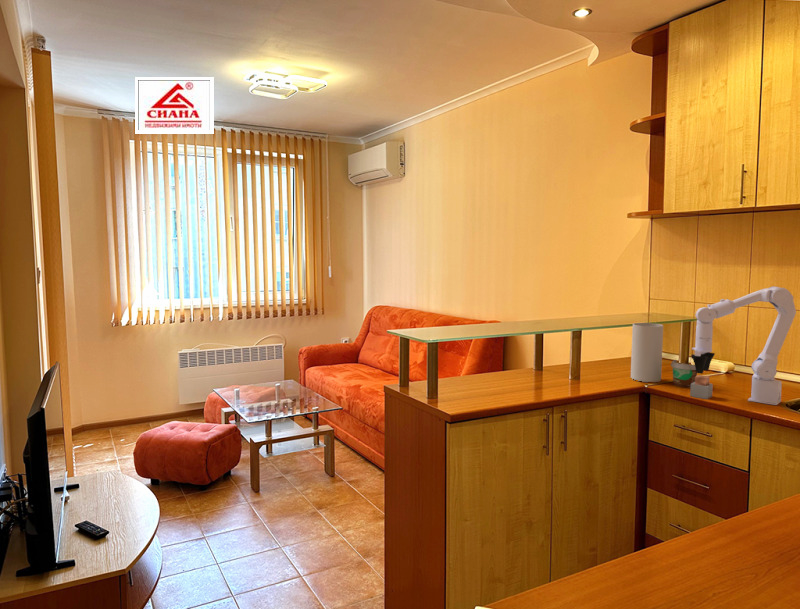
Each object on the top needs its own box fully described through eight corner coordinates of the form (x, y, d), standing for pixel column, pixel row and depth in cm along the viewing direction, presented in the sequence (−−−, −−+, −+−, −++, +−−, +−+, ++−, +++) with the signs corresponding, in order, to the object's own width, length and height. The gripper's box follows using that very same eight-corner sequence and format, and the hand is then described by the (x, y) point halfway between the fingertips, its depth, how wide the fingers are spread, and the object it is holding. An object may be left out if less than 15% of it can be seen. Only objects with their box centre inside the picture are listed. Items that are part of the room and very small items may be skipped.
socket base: (712, 396, 220) (712, 383, 220) (707, 399, 216) (707, 386, 216) (695, 393, 225) (695, 381, 224) (690, 396, 220) (690, 384, 220)
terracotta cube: (709, 386, 220) (709, 376, 220) (705, 388, 217) (706, 378, 217) (698, 384, 223) (698, 375, 222) (694, 386, 220) (695, 376, 220)
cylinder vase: (655, 377, 255) (657, 323, 253) (665, 383, 243) (667, 326, 240) (627, 376, 256) (628, 322, 254) (635, 382, 244) (637, 326, 242)
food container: (663, 383, 243) (664, 360, 242) (674, 382, 245) (675, 359, 244) (687, 389, 232) (688, 365, 231) (698, 388, 234) (699, 364, 233)
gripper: (698, 334, 226) (697, 367, 227) (686, 338, 216) (685, 373, 217) (717, 336, 221) (716, 370, 223) (706, 340, 211) (705, 375, 212)
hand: (702, 371), depth 219 cm, fingers open, 6 cm apart
